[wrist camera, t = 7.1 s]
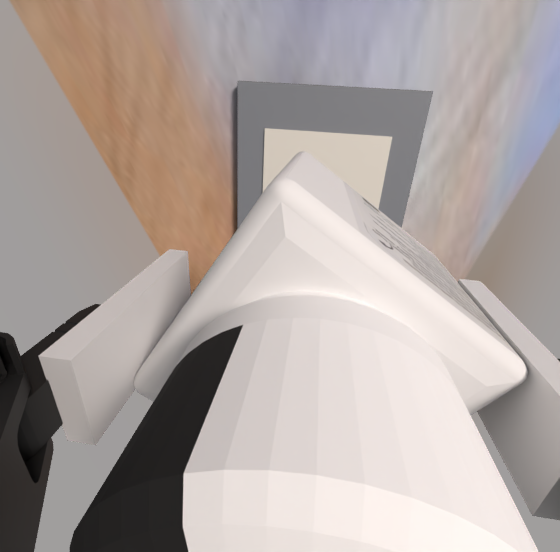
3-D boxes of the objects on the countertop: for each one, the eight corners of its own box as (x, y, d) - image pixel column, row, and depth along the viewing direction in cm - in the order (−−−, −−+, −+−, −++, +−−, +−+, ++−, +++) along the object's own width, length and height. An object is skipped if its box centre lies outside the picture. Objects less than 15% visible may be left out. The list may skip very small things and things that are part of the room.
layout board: (240, 82, 28) (236, 80, 27) (429, 92, 27) (433, 90, 25) (239, 269, 36) (237, 273, 35) (385, 284, 34) (387, 289, 33)
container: (326, 358, 18) (331, 820, 6) (208, 277, 16) (-81, 662, 5) (437, 256, 14) (920, 824, 3) (301, 146, 13) (123, 328, 1)
